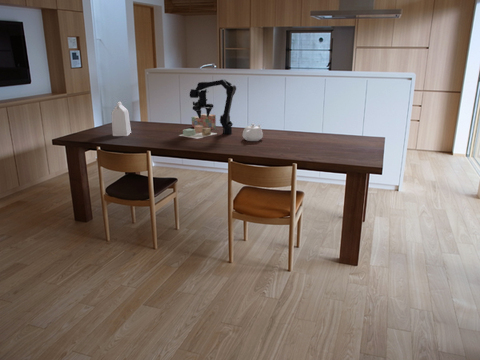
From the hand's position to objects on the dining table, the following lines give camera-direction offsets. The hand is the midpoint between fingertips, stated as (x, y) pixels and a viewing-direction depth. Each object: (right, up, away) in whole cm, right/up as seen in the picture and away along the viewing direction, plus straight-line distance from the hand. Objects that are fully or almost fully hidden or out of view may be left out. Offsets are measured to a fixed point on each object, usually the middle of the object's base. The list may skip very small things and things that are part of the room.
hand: (203, 117), depth 336 cm
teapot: (+40, -20, -21) cm, 49 cm away
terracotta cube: (-4, -11, +3) cm, 13 cm away
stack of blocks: (-2, -6, +22) cm, 23 cm away
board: (-4, -15, -6) cm, 16 cm away
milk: (-66, -14, -2) cm, 67 cm away
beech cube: (+3, -15, -7) cm, 17 cm away
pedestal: (-11, -15, -7) cm, 19 cm away
